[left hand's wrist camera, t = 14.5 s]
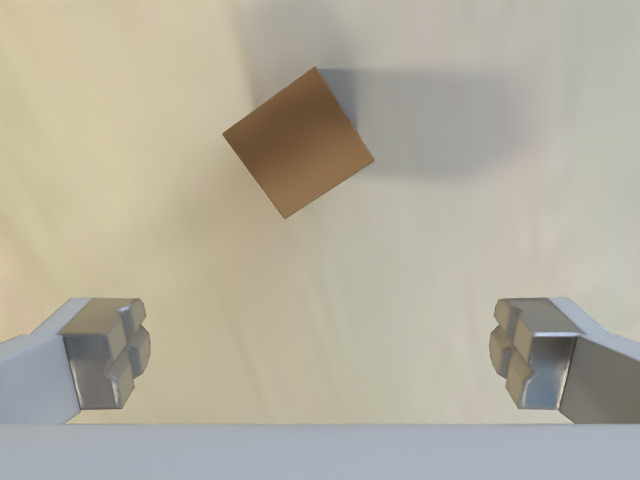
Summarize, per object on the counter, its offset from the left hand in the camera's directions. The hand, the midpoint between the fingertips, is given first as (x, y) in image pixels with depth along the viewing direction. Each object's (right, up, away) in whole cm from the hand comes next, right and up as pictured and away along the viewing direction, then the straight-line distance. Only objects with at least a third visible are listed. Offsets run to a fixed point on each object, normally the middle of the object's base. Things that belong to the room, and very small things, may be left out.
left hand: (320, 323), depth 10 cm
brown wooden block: (-1, +9, +18) cm, 20 cm away
